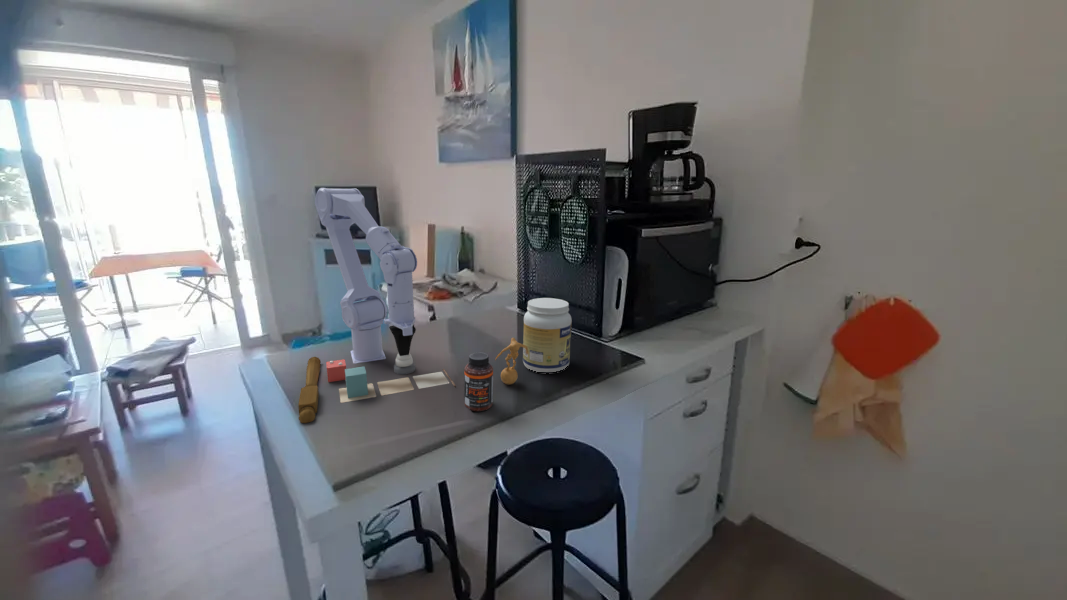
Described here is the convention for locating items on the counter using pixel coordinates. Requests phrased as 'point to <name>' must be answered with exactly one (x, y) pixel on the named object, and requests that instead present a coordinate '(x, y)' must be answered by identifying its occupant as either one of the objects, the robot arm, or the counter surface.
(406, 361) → the dome
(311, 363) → the tap handle
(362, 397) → the game board
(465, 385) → the supplement bottle
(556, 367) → the supplement tub
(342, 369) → the red die
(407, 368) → the dome base
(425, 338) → the counter surface
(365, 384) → the teal rectangular block
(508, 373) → the figurine
